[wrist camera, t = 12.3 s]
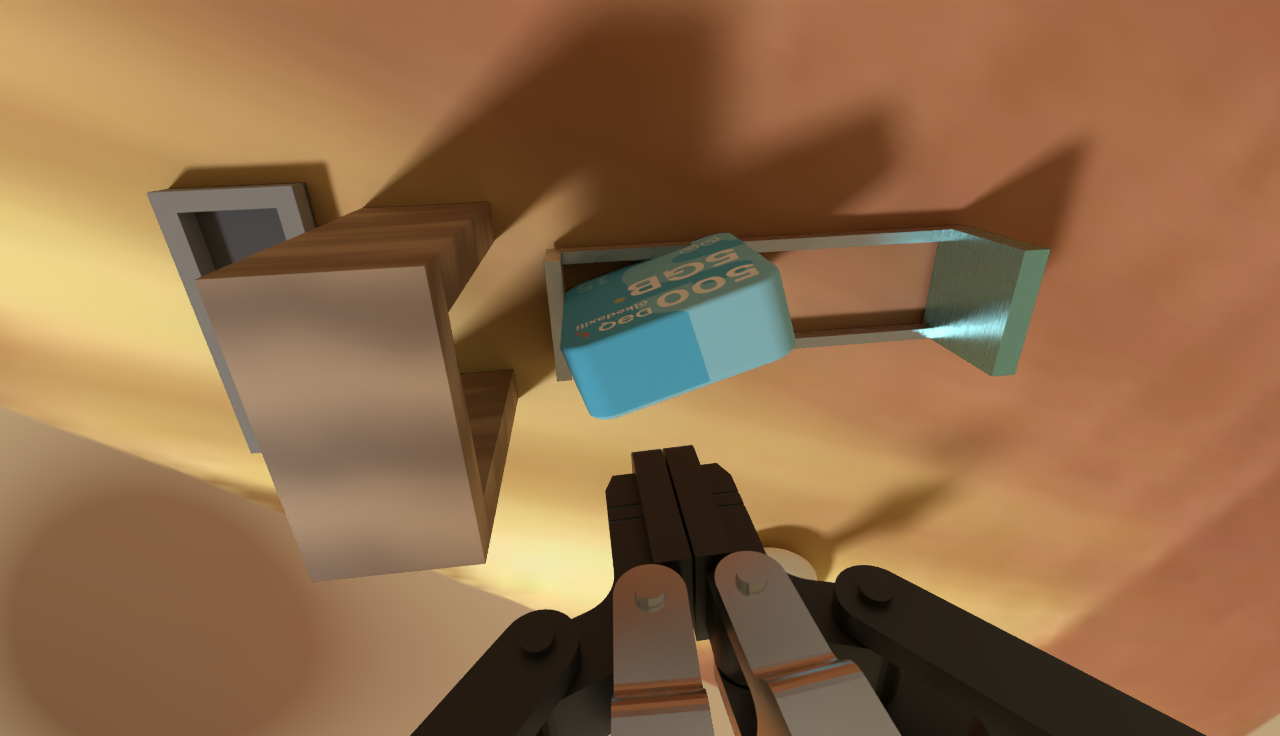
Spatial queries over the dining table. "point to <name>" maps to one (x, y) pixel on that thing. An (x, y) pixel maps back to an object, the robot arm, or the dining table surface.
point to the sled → (954, 317)
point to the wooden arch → (369, 387)
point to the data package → (674, 325)
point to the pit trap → (227, 244)
